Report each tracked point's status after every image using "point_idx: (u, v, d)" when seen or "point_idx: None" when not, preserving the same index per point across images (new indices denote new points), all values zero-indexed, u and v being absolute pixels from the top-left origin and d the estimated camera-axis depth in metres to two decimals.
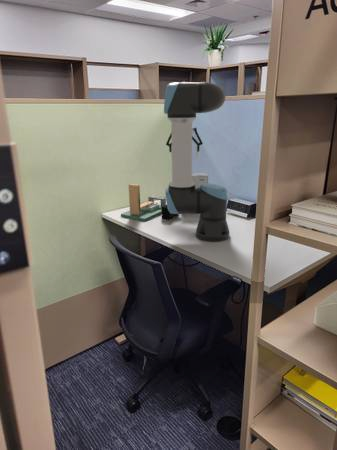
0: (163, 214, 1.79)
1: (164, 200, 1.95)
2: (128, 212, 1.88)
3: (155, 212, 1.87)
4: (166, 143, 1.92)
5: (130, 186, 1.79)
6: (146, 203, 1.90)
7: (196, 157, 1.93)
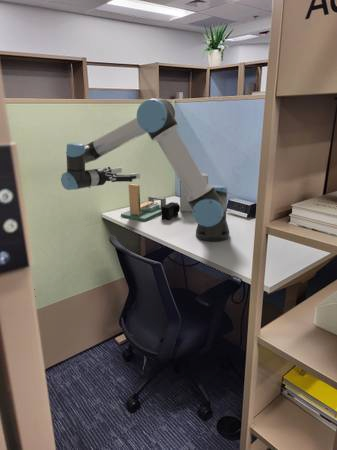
0: (163, 214, 1.79)
1: (164, 200, 1.95)
2: (128, 212, 1.88)
3: (155, 212, 1.87)
4: (130, 176, 1.60)
5: (130, 186, 1.79)
6: (146, 203, 1.90)
7: (121, 167, 1.75)
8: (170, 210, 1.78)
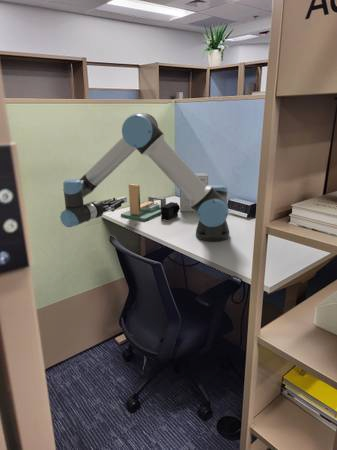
0: (162, 214, 1.79)
1: (164, 200, 1.95)
2: (128, 212, 1.88)
3: (155, 212, 1.87)
4: (120, 201, 1.66)
5: (130, 186, 1.79)
6: (146, 203, 1.90)
7: (124, 196, 1.75)
8: (169, 210, 1.78)
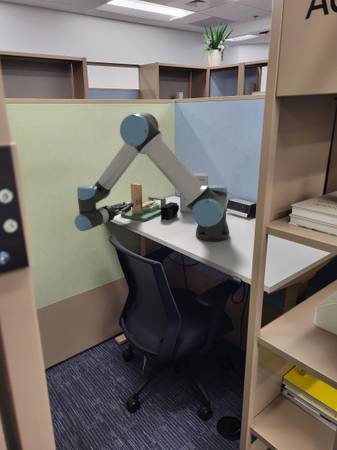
0: (162, 214, 1.79)
1: (164, 200, 1.95)
2: (128, 212, 1.88)
3: (155, 212, 1.87)
4: (130, 205, 1.74)
5: (132, 185, 1.80)
6: (148, 202, 1.91)
7: (133, 200, 1.82)
8: (169, 210, 1.78)
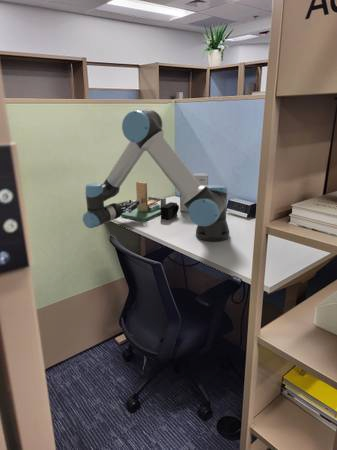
0: (162, 214, 1.79)
1: (164, 200, 1.95)
2: (128, 212, 1.88)
3: (155, 212, 1.87)
4: (136, 203, 1.77)
5: (138, 184, 1.83)
6: (153, 200, 1.95)
7: (139, 198, 1.85)
8: (169, 210, 1.78)
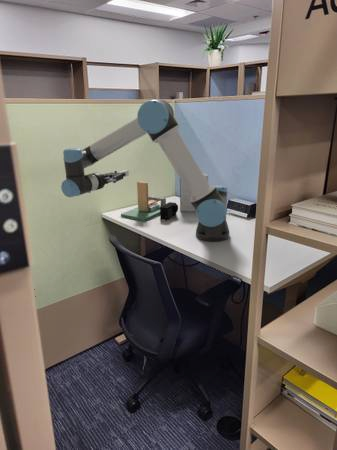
0: (162, 214, 1.79)
1: (164, 200, 1.95)
2: (128, 212, 1.88)
3: (155, 212, 1.87)
4: (122, 173, 1.64)
5: (138, 183, 1.84)
6: (153, 200, 1.95)
7: (126, 170, 1.72)
8: (169, 210, 1.78)
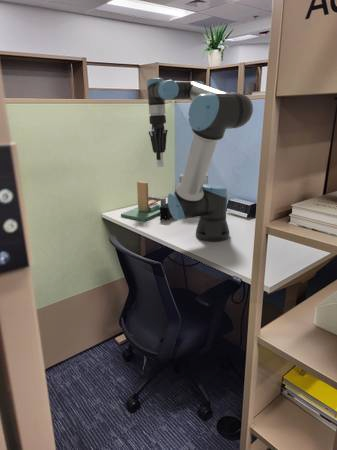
0: (161, 214, 1.79)
1: (164, 200, 1.95)
2: (128, 212, 1.88)
3: (155, 212, 1.87)
4: (157, 150, 1.60)
5: (138, 183, 1.84)
6: (153, 200, 1.95)
7: (163, 165, 1.66)
8: (168, 210, 1.78)
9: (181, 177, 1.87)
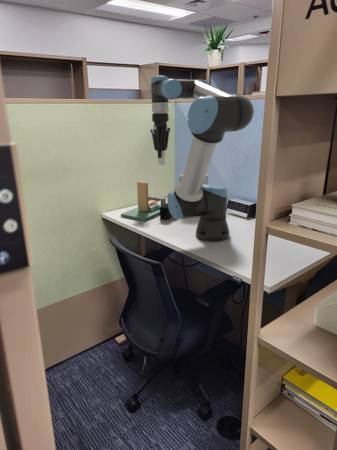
0: (161, 214, 1.79)
1: (164, 200, 1.95)
2: (128, 212, 1.88)
3: (155, 212, 1.87)
4: (158, 148, 1.60)
5: (138, 183, 1.84)
6: (153, 200, 1.95)
7: (164, 164, 1.66)
8: (168, 210, 1.78)
9: (181, 177, 1.87)
